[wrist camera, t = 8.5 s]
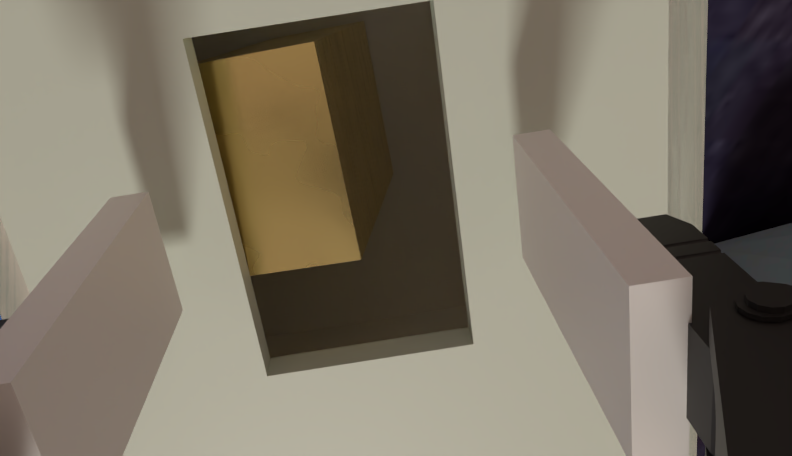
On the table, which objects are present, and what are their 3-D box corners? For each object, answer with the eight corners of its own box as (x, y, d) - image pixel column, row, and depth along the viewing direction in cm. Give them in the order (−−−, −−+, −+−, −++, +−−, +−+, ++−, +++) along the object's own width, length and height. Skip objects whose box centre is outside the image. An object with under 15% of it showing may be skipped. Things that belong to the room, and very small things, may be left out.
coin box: (179, 358, 29) (101, 564, 20) (24, -155, 22) (-213, -210, 13) (584, 294, 29) (695, 471, 20) (559, -238, 22) (716, -352, 13)
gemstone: (621, 339, 26) (760, 423, 24) (732, 142, 24) (893, 209, 22) (671, 327, 32) (784, 393, 30) (761, 171, 31) (888, 225, 28)
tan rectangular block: (307, 187, 25) (238, 277, 18) (272, 38, 24) (180, 66, 16) (393, 173, 25) (361, 259, 17) (363, 20, 23) (314, 41, 16)
